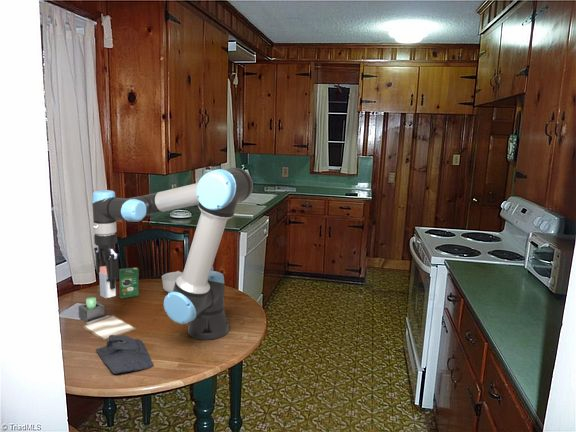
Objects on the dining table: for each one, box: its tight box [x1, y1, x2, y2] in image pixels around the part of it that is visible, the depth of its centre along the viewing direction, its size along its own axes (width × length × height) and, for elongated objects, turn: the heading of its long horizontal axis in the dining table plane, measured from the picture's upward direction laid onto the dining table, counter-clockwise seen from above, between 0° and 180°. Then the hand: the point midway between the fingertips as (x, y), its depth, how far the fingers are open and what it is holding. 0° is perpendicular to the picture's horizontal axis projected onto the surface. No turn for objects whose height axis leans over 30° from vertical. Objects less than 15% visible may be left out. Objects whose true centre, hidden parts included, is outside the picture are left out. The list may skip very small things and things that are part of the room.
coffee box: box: [118, 267, 140, 299], centre depth 191 cm, size 8×3×13 cm, turn 119°
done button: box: [85, 296, 97, 309], centre depth 169 cm, size 4×4×5 cm
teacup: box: [161, 270, 183, 294], centre depth 201 cm, size 14×11×8 cm
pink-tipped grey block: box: [98, 266, 117, 299], centre depth 157 cm, size 4×4×11 cm
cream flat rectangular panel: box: [80, 314, 138, 342], centre depth 161 cm, size 17×13×1 cm
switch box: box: [78, 301, 106, 323], centre depth 169 cm, size 7×7×5 cm
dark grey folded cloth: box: [95, 334, 155, 375], centre depth 141 cm, size 15×22×5 cm
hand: (108, 294), depth 158 cm, fingers closed on pink-tipped grey block, 4 cm apart
